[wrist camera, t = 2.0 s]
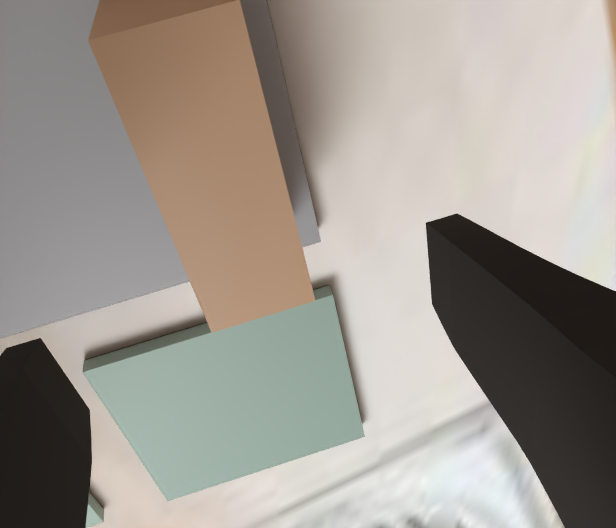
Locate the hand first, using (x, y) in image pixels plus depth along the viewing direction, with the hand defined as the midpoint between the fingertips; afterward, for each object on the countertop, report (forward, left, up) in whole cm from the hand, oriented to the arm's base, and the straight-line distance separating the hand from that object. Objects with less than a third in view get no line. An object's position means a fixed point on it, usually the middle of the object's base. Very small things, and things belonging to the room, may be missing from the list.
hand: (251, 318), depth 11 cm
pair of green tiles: (-8, -12, -8) cm, 17 cm away
